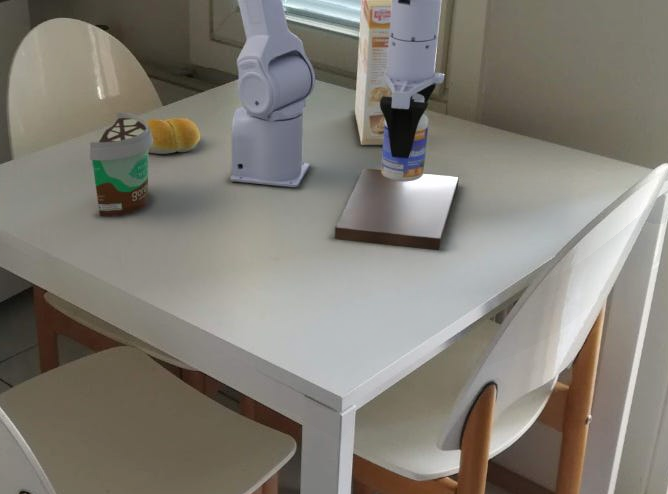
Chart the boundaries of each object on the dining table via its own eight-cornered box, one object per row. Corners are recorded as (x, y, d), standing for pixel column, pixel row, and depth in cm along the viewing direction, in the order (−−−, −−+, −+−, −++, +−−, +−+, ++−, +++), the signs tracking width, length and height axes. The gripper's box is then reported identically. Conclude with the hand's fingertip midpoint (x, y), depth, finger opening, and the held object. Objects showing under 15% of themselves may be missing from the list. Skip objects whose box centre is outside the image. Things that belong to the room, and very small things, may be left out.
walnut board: (334, 238, 137) (335, 227, 136) (363, 178, 152) (363, 167, 151) (439, 250, 134) (440, 238, 133) (457, 187, 149) (459, 176, 148)
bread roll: (207, 151, 160) (206, 123, 158) (147, 158, 158) (146, 131, 156) (190, 132, 167) (189, 105, 164) (132, 139, 164) (131, 112, 162)
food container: (142, 224, 140) (136, 147, 134) (96, 220, 141) (88, 143, 135) (167, 186, 150) (163, 113, 144) (123, 183, 151) (118, 110, 145)
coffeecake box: (408, 146, 162) (420, 5, 150) (359, 146, 162) (368, 5, 150) (399, 111, 173) (409, -22, 161) (353, 111, 174) (360, -22, 162)
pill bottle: (412, 185, 137) (419, 107, 131) (373, 177, 139) (378, 99, 133) (430, 171, 141) (438, 94, 135) (392, 163, 143) (398, 87, 137)
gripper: (439, 55, 123) (428, 172, 132) (454, 20, 134) (443, 131, 143) (377, 50, 125) (369, 167, 133) (397, 17, 136) (389, 126, 144)
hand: (404, 148), depth 138 cm, fingers closed on pill bottle, 5 cm apart
